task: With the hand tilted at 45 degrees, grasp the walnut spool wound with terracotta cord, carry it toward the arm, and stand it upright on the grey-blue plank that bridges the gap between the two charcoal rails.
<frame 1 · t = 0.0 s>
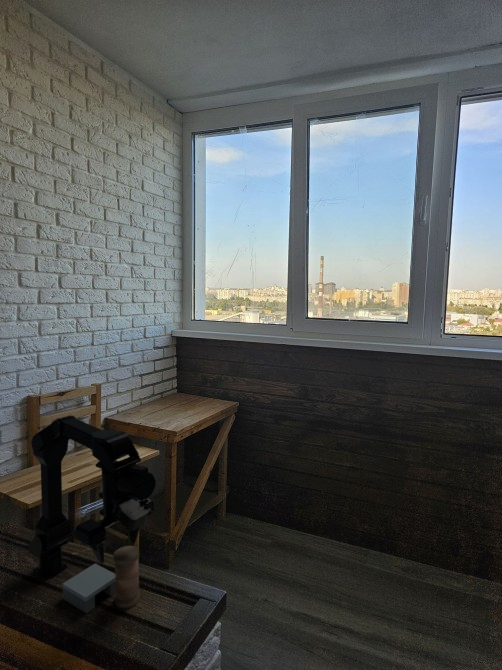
hand: (117, 552, 100), 14 cm above the table, tool pointing down, fingers open, 9 cm apart
bridge shelf: (91, 594, 107), on the table
spool: (127, 599, 105), on the table
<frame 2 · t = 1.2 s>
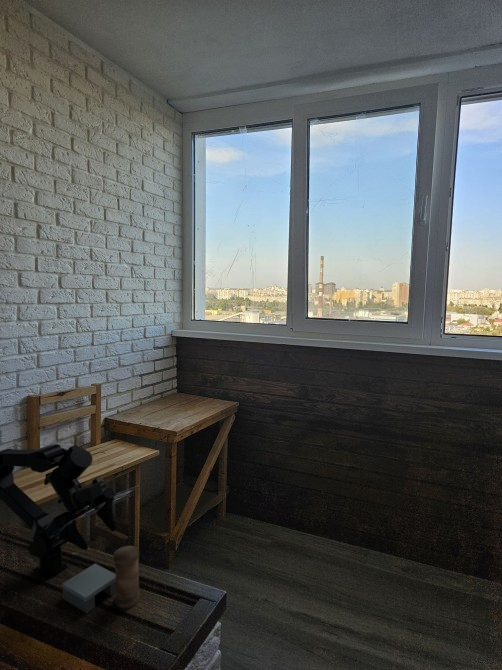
hand: (101, 539, 108), 13 cm above the table, tool tilted 45°, fingers open, 9 cm apart
nothing on the table moved.
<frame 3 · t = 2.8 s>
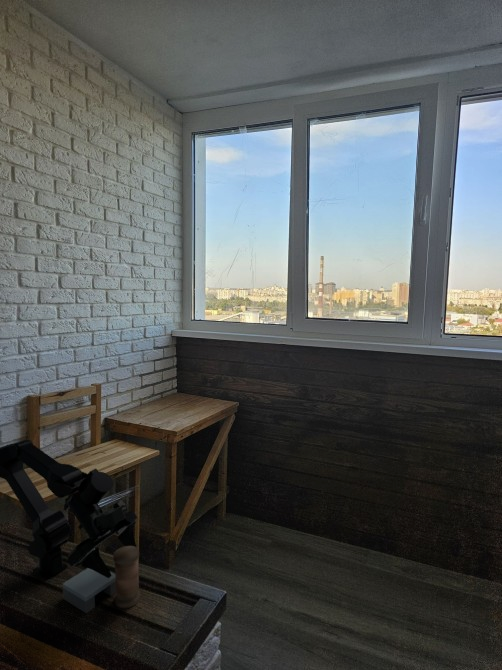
hand: (124, 565, 105), 8 cm above the table, tool tilted 45°, fingers open, 9 cm apart
nothing on the table moved.
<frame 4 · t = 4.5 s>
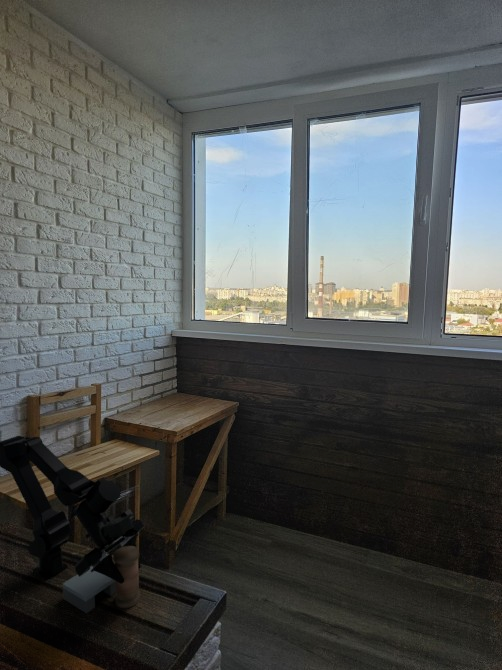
hand: (131, 575, 104), 7 cm above the table, tool tilted 45°, fingers closed on spool, 5 cm apart
spool: (127, 599, 105), on the table, touching gripper
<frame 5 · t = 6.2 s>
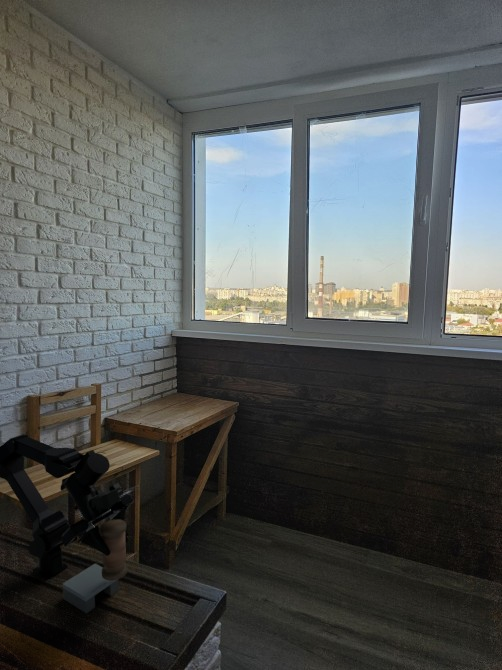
hand: (118, 548, 104), 13 cm above the table, tool tilted 45°, fingers closed on spool, 5 cm apart
spool: (114, 572, 105), point 7 cm above the table, touching gripper
when the fingers open (12 cm above the table, at t = 7.9 s): spool drops 1 cm, resting on bridge shelf.
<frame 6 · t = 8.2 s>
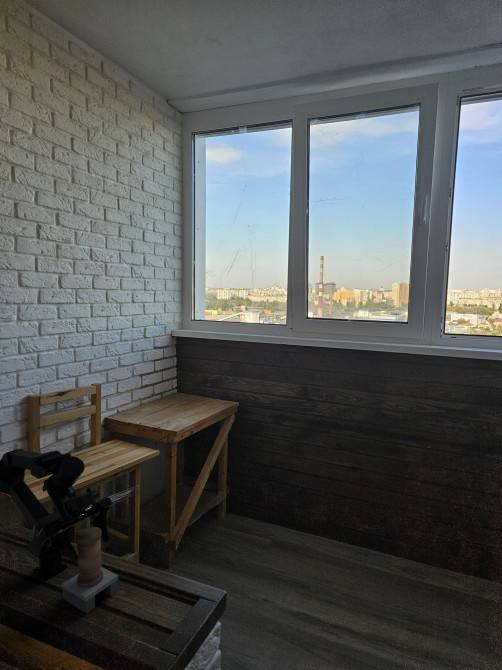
hand: (92, 550, 105), 12 cm above the table, tool tilted 45°, fingers open, 8 cm apart
spool: (90, 579, 107), point 4 cm above the table, touching bridge shelf
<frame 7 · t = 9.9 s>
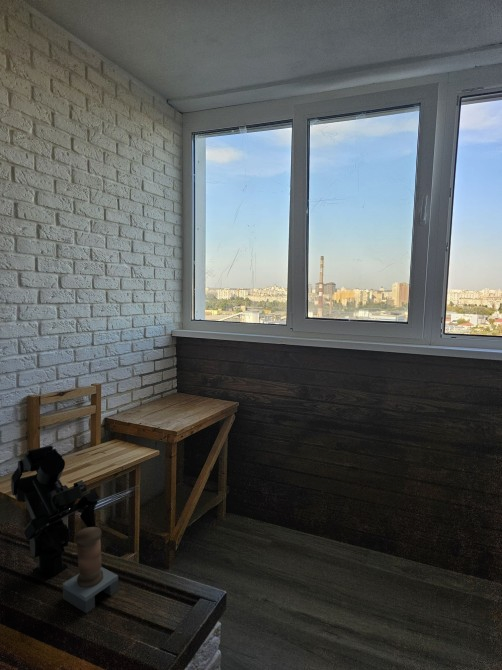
hand: (79, 543, 108), 12 cm above the table, tool tilted 45°, fingers open, 9 cm apart
nothing on the table moved.
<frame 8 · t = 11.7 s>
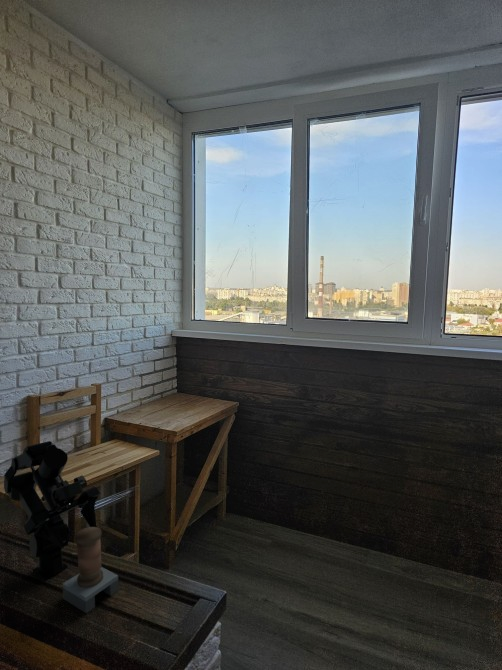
hand: (80, 538, 108), 14 cm above the table, tool tilted 45°, fingers open, 9 cm apart
nothing on the table moved.
at the end: spool inside the target area on the bridge shelf (0.1 cm from its centre), point 4.0 cm above the bridge shelf's base; spool tilted 0°; the gripper is holding nothing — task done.
